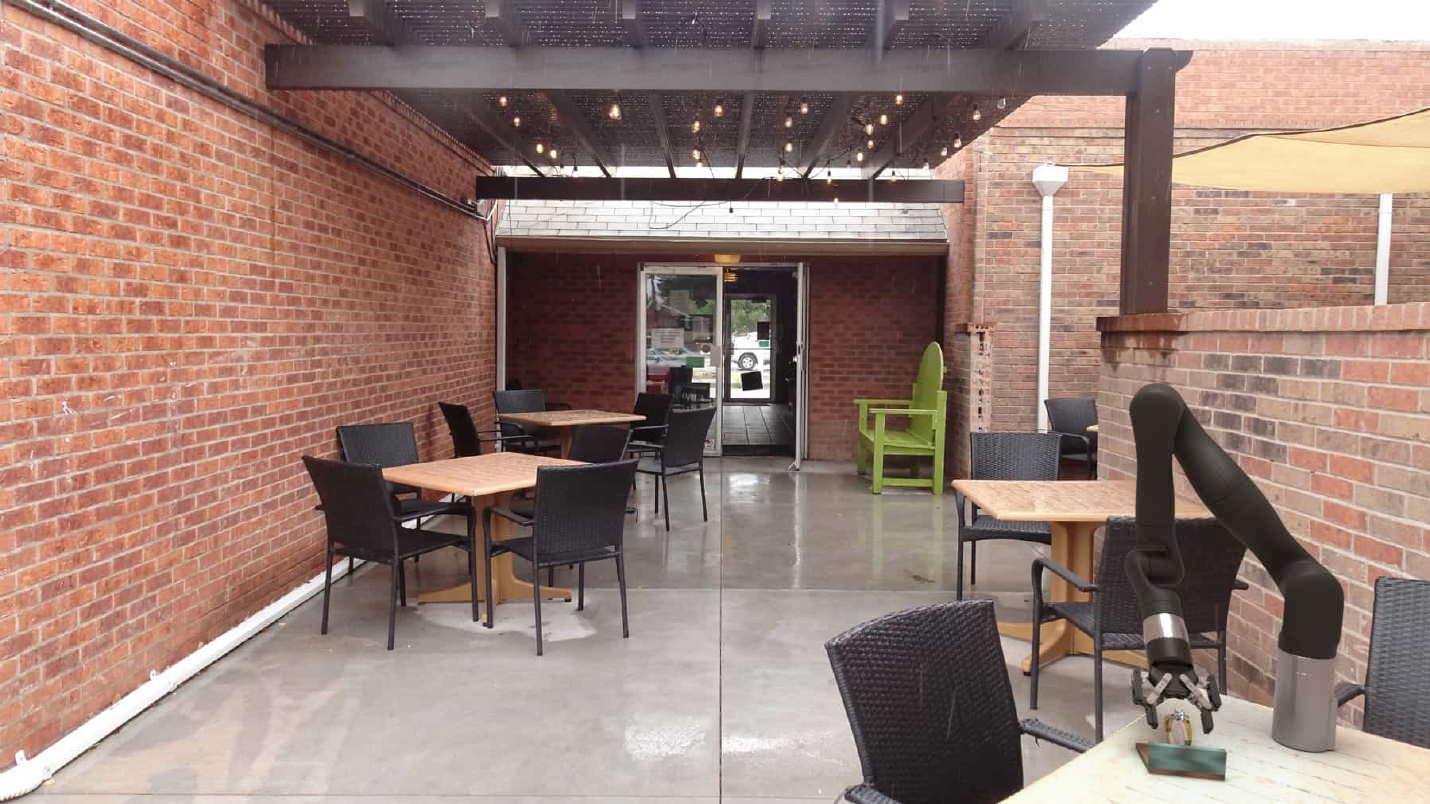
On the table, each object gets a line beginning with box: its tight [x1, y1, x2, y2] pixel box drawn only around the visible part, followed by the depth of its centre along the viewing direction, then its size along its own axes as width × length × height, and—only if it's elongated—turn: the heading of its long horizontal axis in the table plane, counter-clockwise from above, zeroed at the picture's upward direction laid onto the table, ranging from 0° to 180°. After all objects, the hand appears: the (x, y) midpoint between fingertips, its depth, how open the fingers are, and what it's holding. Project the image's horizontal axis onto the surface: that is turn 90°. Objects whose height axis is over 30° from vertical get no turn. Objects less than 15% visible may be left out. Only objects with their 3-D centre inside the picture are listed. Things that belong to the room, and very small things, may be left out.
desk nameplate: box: [1135, 741, 1228, 782], centre depth 168 cm, size 12×10×5 cm
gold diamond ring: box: [1163, 708, 1193, 746], centre depth 169 cm, size 7×3×8 cm, turn 179°
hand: (1181, 730), depth 167 cm, fingers open, 8 cm apart
